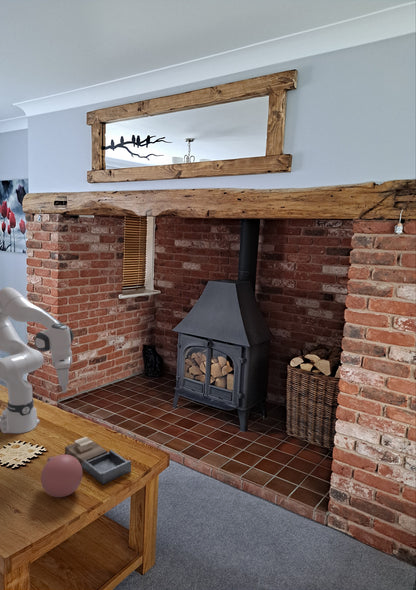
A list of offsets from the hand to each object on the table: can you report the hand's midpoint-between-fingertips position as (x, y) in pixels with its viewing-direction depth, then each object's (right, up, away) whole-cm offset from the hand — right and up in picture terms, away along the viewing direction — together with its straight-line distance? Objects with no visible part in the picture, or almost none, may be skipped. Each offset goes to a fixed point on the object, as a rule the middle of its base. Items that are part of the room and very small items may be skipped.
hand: (64, 388), depth 196 cm
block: (+8, -27, +1) cm, 28 cm away
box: (+22, -33, -11) cm, 41 cm away
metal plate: (+10, -30, 0) cm, 32 cm away
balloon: (+7, -35, -26) cm, 44 cm away
